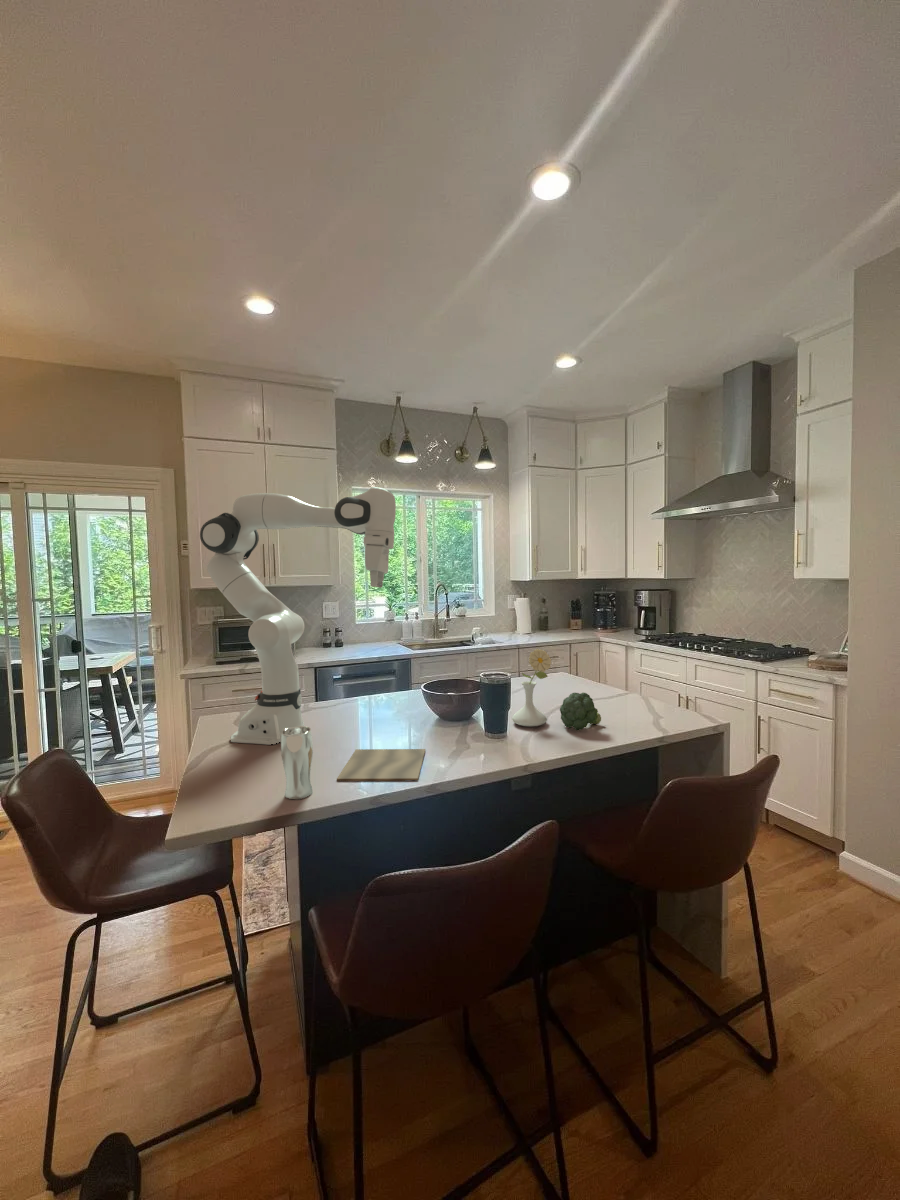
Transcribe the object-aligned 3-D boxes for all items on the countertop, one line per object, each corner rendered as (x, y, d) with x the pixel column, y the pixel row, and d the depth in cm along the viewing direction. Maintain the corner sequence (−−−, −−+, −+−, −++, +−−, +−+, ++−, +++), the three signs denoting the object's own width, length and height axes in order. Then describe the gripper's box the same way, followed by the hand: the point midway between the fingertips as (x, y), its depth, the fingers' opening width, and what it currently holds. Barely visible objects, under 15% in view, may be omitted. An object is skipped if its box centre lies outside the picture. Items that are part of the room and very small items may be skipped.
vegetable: (618, 724, 154) (586, 710, 147) (589, 746, 160) (557, 734, 153) (603, 694, 164) (573, 679, 157) (576, 716, 169) (545, 703, 162)
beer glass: (276, 796, 114) (273, 732, 113) (300, 785, 120) (298, 724, 119) (296, 803, 110) (293, 737, 109) (320, 791, 116) (318, 728, 115)
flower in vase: (513, 729, 158) (512, 652, 156) (510, 719, 169) (509, 646, 168) (554, 729, 157) (554, 651, 156) (549, 718, 169) (548, 645, 167)
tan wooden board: (336, 781, 122) (336, 778, 122) (355, 751, 142) (355, 749, 141) (417, 780, 121) (417, 778, 121) (425, 751, 141) (425, 749, 141)
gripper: (374, 544, 161) (372, 587, 161) (362, 537, 141) (359, 585, 141) (394, 546, 161) (391, 588, 161) (384, 538, 141) (381, 587, 141)
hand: (376, 587), depth 151 cm, fingers open, 8 cm apart
